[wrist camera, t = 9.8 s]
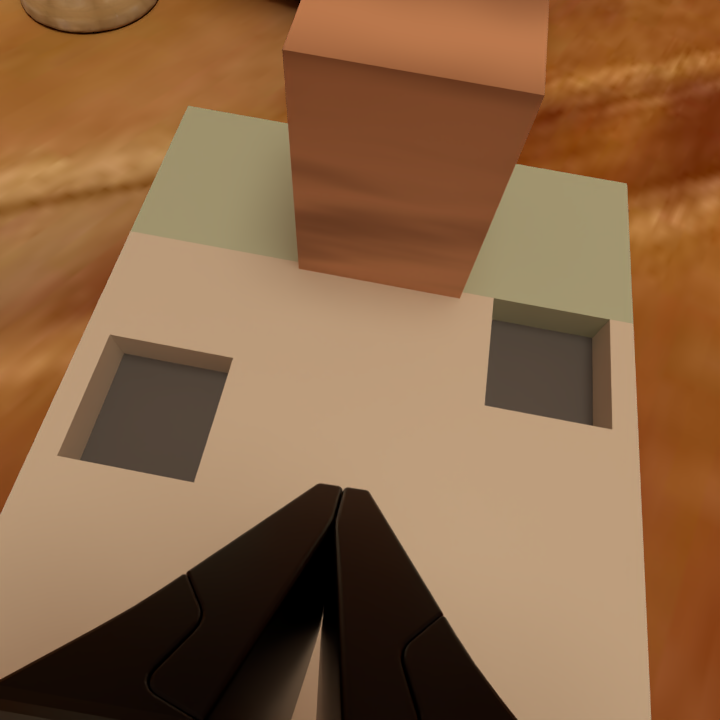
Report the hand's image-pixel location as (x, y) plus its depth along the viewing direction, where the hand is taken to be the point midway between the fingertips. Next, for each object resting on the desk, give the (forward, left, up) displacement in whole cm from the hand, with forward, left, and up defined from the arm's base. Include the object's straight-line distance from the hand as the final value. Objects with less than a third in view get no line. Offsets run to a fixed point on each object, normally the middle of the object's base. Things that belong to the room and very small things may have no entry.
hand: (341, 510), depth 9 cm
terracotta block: (+12, +9, -11) cm, 18 cm away
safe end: (+12, +10, -12) cm, 20 cm away
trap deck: (+2, +2, -12) cm, 13 cm away
